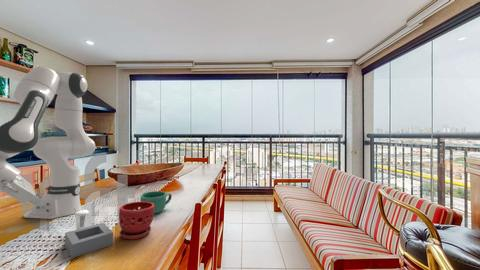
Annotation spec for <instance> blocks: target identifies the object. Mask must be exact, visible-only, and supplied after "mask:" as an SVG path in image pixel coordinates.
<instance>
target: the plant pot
mask: <svg viewBox="0 0 480 270" xmlns="http://www.w3.org/2000/svg"><path fill="white" fill-rule="evenodd" d="M154 206H155V205H154V204H153V203H151V202H141V201H132V202H128V203H125V204H124V203H123V205H120V207H119V210H118V220H119V221H118V222H119V227H120V229H121V230H119V236H120V237H121V238H123V239H126V240H135V239H140V238H143V237H145V236H147V235H148V234H149V233H150V232H151V231H152V227H151V225H152V222H153V220H154V215H155V214H154ZM144 208H146V209H144Z"/></svg>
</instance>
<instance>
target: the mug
mask: <svg viewBox="0 0 480 270" xmlns="http://www.w3.org/2000/svg"><path fill="white" fill-rule="evenodd" d="M167 196H168V198H167ZM171 200H172V194H171V192H165V191H161V190H160V191H158V190H156V191H155V190H154V191H148V192H147V191H146V192H145V193H142V194H141V195H140V202H151V203H153V204H154V205H155V206H154V215H155V214H159V213H161V212H162V211H163V210H165V208H166V205H168V204H169V203H170V201H171ZM144 209H146V208H144Z"/></svg>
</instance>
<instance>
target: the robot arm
mask: <svg viewBox="0 0 480 270" xmlns="http://www.w3.org/2000/svg"><path fill="white" fill-rule="evenodd" d="M88 84H89V82H88V80H87V78H86V77H85V76H84V75H83V74H80V73H78V72H69V71H64V70H53V69H51V68H49V67H45V66H35V67H33V68H32V69H31V70H29V71H28V72H27V73H26V74H25V75H24V76H23V77H22V78H21V80H20V81H19V82H18V84H17V85H16V87H15V89H14V93H13V98H14V100H15V101H16V102H17V103H18V104H20V106H19V107H18V110H17V111H16V113H15V115H14V116H13V118H12V119H10V120H9V121H7V122H5V123H3V124H2V125H0V192H1V193H5V194H6V195H8V196H10V197H11V198H13V199H15V200H16V201H18V202H19V203H21V204H23V205H28V204H29V203H31V206H30V210H29V211H27V212H25V213H24V214H23V216H22V217H23V218H28V219H29V218H30V219H45V220H47V219H48V220H53V219H57V218H61V217H65V216H71V215H73V214H74V215H75V213H76V212H78V211H81V210H83V208H82V204H81V200H80V199H81V198H80V191H81V183H80V174H81V173H80V169H79V167H78V166H77V165H73V164H71V163H69V158H70V159H71V158H82V157H88V156H91V155H93V154H94V152H95V150H96V143H95V141H94V140H93V139H92V138H90V136H88V134H87V133H86V132H85V130H84V126H83V109H84V108H83V107H84V106H83V98H82V97H83V96H84V95H85V94H86V92H87V91H88V87H89V85H88ZM55 95H57V96H56V99H55V103H54V118H53V119H54V120H53V123H54V125H55V126H56V127H57V128H58V129H61V130H63V131H64V132H65V133H66V136H47V137H40V138H39V124H40V122H41V120H42V118H43V116H44V113H45V111H46V110H47V107H48V106H49V105H50V104H51V102H52V101H53V100H54V98H55ZM31 149H32V152H33V154H34V155H35V156H36V158H39V159H41V160H42V161H43V162H44V163H46V164H47V167H49V169H50V174H51V175H50V177H51V178H50V179H51V180H50V181H51V182H50V183H51V184H50V185H49V186H47V187H45V188H44V191H47V192H46V193H45V194H44V195H42V194H39V192H37V191H35V190H34V189H35V188H34V187H33V185H32V184H31V182H29V181H27V180H26V179H25V178H24V177H23V176H21V175H20V174H21V173H22V170H20V169H19V168H17V167H15V166H14V165H12V164H10V163H9V162H7V161H6V160H7V159H9V158H12V157H14V156H16V155H18V154H21V153H23V152H26V151H29V150H31ZM74 209H75V210H76V212H75V210H74Z"/></svg>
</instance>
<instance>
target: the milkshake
mask: <svg viewBox="0 0 480 270" xmlns="http://www.w3.org/2000/svg"><path fill="white" fill-rule="evenodd" d="M74 210H75V209H74ZM75 212H76V210H75ZM89 212H90V211H89V210H87V209H82V210H81V211H78V212H76V213H74V217H75V219H74V220H75V230H77V229H81V228H85V227H88V221H89V215H90V214H89Z"/></svg>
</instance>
